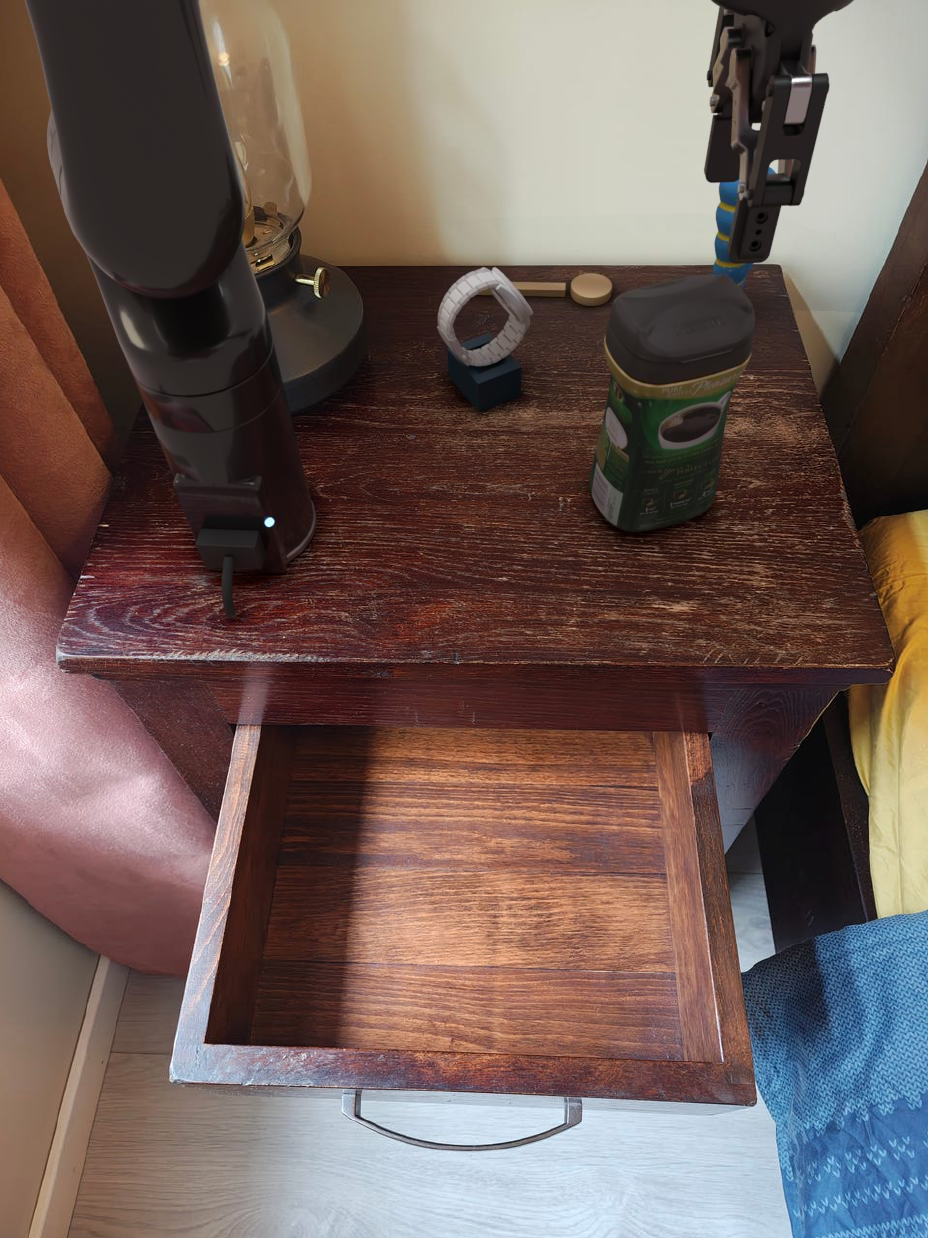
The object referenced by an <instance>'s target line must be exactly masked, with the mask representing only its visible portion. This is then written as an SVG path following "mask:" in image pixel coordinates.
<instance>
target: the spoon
mask: <svg viewBox="0 0 928 1238" xmlns="http://www.w3.org/2000/svg"><path fill="white" fill-rule="evenodd" d="M511 282H512V284H513V285H514V286H515V287H516V288H517V289H518V291H519V292H520V293H521V295H522V296H523V297H552V298H553V297H554V298H556V297H557V298H565V297H566V292H567V291H566V290H567V289H566V288H567V287H566V286H567V283H566V282H544V281H543V282H537V281H536V282H535V281H534V282H533V281H511ZM569 293H570V295H569V296H570V297H571V299H572V300H573V301H574V302H576V303H577V304H579V305H582V306H586V307H597V306H602V305H603V304H606V303H607V302H608V301H609V300H610V299H611V297H612V293H613V284H612V281H611V280H610V279H609V278H608V277H607V276H604V275H602V274H599V273H593V272H591V273H590V272H589V273H583V274H580V275H577V276H575V277H574V278H573V279H572V280H571V283H570V292H569ZM475 296H493V294H492V293H491V292H490V290H489V289H486V290H483V291H481V292H480V291H479V293H478V294H476V295H475Z"/></svg>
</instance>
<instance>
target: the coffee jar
mask: <svg viewBox="0 0 928 1238" xmlns="http://www.w3.org/2000/svg"><path fill="white" fill-rule="evenodd" d="M608 315H609V319H608V322H607V326H606V331H605V335H604V339H603V351H604V357H605V361H606V364H607V367H608V371H609V372H610V373H609V375H610V376H609V386H608V394H607V399H606V404H605V407H604V413H603V418H602V423H601V426H600V430H599V435H598V437H597V443H596V447H595V450H594V455H593V459H592V464H591V470H590V474H589V491H590V494H591V498H592V500H593V502H594V504H595V506H596V508H597V509H598V511H599V513H600V514H601V516H602V517H603V518H604V519H605V520H606V521H607V522H608V523H609V524H610V525H612V526H613V527H615V528H617V529H619V530H622V531H623V532H629V533H641V532H646V531H654V530H658V529H659V530H660V529H663V528H666V527H670V526H674V525H677V524H680V523H683V522H686V521H689V520H691V519H694V518H696V517H698V516H700V515H702V514H704V513H705V512H707V511H708V510H709V509H710V508H711V507H712V505H713V503H714V501H715V498H716V495H717V490H718V484H719V483H718V482H719V477H720V471H721V460H722V459H721V458H722V452H723V451H722V450H723V443H724V438H725V431H726V425H727V417H728V411H729V407H730V403H731V399H732V396H733V394H734V390H735V388H736V385H737V384H738V381H739V379H740V377H741V376H742V374H743V373H744V371H745V370H746V368H747V366H748V364H749V362H750V359H751V357H752V352H753V345H754V335H755V331H756V317H755V308H754V305H753V304H752V302H751V300H750V299H749V298H748V296H747V295H746V294H745V292H744V291H743V289H742V290H741V289H740V287H739V286H738V285H737V284H736V283H735V282H734V281H733V280H732V279H731V278H730V277H729V276H728V275H726V274H719V275H713V274H699V275H698V274H697V275H691V276H684V277H680V278H675V279H670V280H666V281H662V282H657V283H653V284H649V285H645V286H642V287H638V288H633V289H630V290H627V291H625V292H623V293H621V294H619V295H618V296H617V297H616V298H615V299H614V300H613V301H612V304H611V308H610V312H609V314H608Z"/></svg>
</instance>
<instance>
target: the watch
mask: <svg viewBox="0 0 928 1238" xmlns="http://www.w3.org/2000/svg"><path fill="white" fill-rule="evenodd" d="M512 282H513V281H511V279H509V278H508V277H507V276H506V275H505V273H503V272H502V271H501V270H499V269H498V268H497V267H496V266H494V267H492V269H491V270H490V269H488V268H487V267H484V266H483V267H481V268H479V269H476V270H472V271H470V272H468V273H466V274H465V275H463V276H461V277H460V278H459V279H457V280H456V282H454V283H453V284H452V285H451V287H450V288H449V289H448V291H447V292H446V293H445V295H444V297H443V298H442V299H441V302H440V306H439V308H438V313H437V324H438V325H437V326H436V328H437V331H438V333H439V335H440V337H441V339H442V341H443V342H444V343H445V344H446V346H447V347H448V348H447V367H448V378H449V379H450V380H451V382H453V384H454V385H455V387H457V388H458V390H459V391H460V392H461V393H462V394H463V395H464V396H465V398H466V399H467V401H468V402H470V404H471V405H472V406H473V407H474V409H475V410H476V411H477V412H478V413H481V412H482V411H483V412H484V411H486V410H488V409H491V408H493V407H496V406H498V405H500V404H503V403H506V402H508V401H511V400H513V399H516V398H519V397H521V396H522V375H523V374H522V371H523V370H522V369H523V367H522V365H521V364H520V363H519V362H518V361H517V360H516V359H515V358H514V357H513V356H512V355H511V352H513V351H514V350H515V349H516V348H517V347H518V345H519V343H520V342H521V341H522V340H523V338H524V336H525V333H526V332H527V330H528V329H529V328H530V326H531V318H530V317H531V316H532V315H533V314H534V312H533V309H532V308H531V306H530V304H529V303H528V300H526V298H525V296H522V295H521V293H520V292H519V291H518V289H517V288H516V287H515V286H514V285H513V284H512ZM486 289H489V290H490V292H491V293H492V294H493V295H492V296H493V297H494V298H495V299H496V301H497V302H498V303H499V304H500V306H501V307H502V308H503V309H504V310H505V311H506V312H507V313H508V315H509V316H508V320H507V321H506V323H505V325H504V326H503V329H502V330H501V331H500V332H499V333H498V335H497V336H496V337H494V335H493V334H491V332H488V333H485V334H483V335H479V336H477V337H474V338H472V339H469V340H466V341H464V342H460V341H459V339H458V338H457V337H456V336H457V335H456V333H455V328H454V323H455V320H456V318H457V315H458V314H459V313H460V311H461V309H462V308H463V306H465V305H466V304H467V303H468V302H469V301H470V300H471V298H474V297H475V296H477V295H476V294H478V293H479V291H480V292H481V291H483V290H486Z"/></svg>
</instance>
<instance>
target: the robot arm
mask: <svg viewBox="0 0 928 1238" xmlns="http://www.w3.org/2000/svg"><path fill="white" fill-rule="evenodd" d="M710 1H711V2H712V3H713V4H714V5H716V6H718V13H717V17H716V19H717V20H716V24H715V31H714V37H713V43H712V48H711V55H710V61H709V67H708V70H707V72H706V81H707V86H708V88H712V92H711V96H710V97H709V108H710V112H711V114H712V120H711V125H710V131H709V137H708V143H707V149H706V155H705V161H704V168H703V173H704V177H705V180H706V181H707V182H708V183H710V184H720V183H722V182H735V181H737V180H739V184H738V197H737V202H736V207H735V212H734V217H733V222H732V227H731V232H730V237H729V242H728V247H727V253H728V256H729V260H730V261H731V262H732V263H734V264H743V263H754V264H760V263H763V262H765V261H767V260H768V259H769V257H770V255H771V250H772V246H773V242H774V238H775V235H776V230H777V226H778V222H779V219H780V214H781V209H782V207H785V206H786V207H796V206H798V207H799V206H800V205H801V203H802V201H803V198H804V196H805V191H806V190H805V189H806V186H807V181H808V177H809V173H810V168H811V165H812V160H813V156H814V151H815V147H816V144H817V140H818V134H819V131H820V126H821V123H822V118H823V114H824V109H825V105H826V101H827V96H828V94H829V91H830V77H829V74H828V73H827V72H816V66H817V63H816V62H817V46H816V44H813V41H814V40H813V38H814V33H813V30H814V29H815V27H816V24H818V22H820V21H821V20H822V19H823V18H825V17H826V16H828V15H830V14H832V13H834V12H839V11H841V10H843V9H845V8H846V7H848V6H849V5H850V4H852V3H853V2H854V1H855V0H710ZM24 4H25V7H26V10H27V13H28V17H29V20H30V23H31V27H32V30H33V35H34V38H35V41H36V46H37V48H38V49H37V50H38V53H39V58H40V63H41V67H42V71H43V75H44V76H43V77H44V81H45V86H46V91H47V95H48V101H49V104H50V110H51V111H50V114H49V118H48V123H47V129H46V133H47V134H46V135H47V136H46V146H47V152H48V154H47V155H48V159H49V163H50V167H51V170H52V173H53V176H54V181H55V184H56V187H57V188H56V189H57V191H58V194H59V198H60V202H61V204H62V205H61V206H62V207H63V211H64V215H65V217H66V220H67V223H68V224H69V227H70V229H71V232H72V234H73V235H74V237H75V239H76V240H77V242H78V243H79V245H80V247H81V248H82V250H83V251H84V252H85V254H86V257H87V260H88V262H89V264H90V267H91V269H92V272H93V275H94V277H95V280H96V282H97V286H98V289H99V291H100V294H101V296H102V300H103V302H104V305H105V307H106V308H105V309H106V311H107V314H108V316H109V319H110V321H111V324H112V327H113V330H114V332H115V335H116V338H117V342H118V344H119V346H120V348H121V351H122V353H123V355H124V358H125V360H126V363H127V365H128V368H129V371H130V373H131V374H132V376H133V379H134V381H135V384H136V387H137V389H138V391H139V394H140V397H141V399H142V400H143V405H144V407H145V409H146V412H147V414H148V417H149V420H150V421H151V424H152V427H153V430H154V432H155V434H156V437H157V439H158V442H159V444H160V447H161V449H162V452H163V454H164V457H165V459H166V463H167V464H168V467H169V469H170V472H171V474H172V477H173V482H172V487H173V490H174V492H175V495H176V497H177V500H178V503H179V504H180V507H181V510H182V512H183V515H184V517H185V519H186V522H187V525H188V527H189V529H190V532H191V534H192V537H193V539H194V542H195V547H196V549H197V552H198V554H199V557H200V558H201V559H200V560H201V561H202V564H203V566H204V567H205V568H206V570H207V571H211V572H213V571H214V572H215V571H216V572H218V571H219V572H221V585H220V587H221V588H220V589H221V599H222V605H223V610H224V613H225V616H227V617H233V616H235V615H236V614H237V612H236V606H235V603H234V602H235V601H234V596H233V581H234V580H233V578H234V573H235V572H237V573H261V574H262V573H263V574H285V572H286V571H287V567H288V564H289V562H290V561H292V560H293V559H296V557H298V556H299V555H301V553H302V552H303V551H304V550H305V549H306V548H307V547H308V546H309V544H310V543H311V541H312V539H313V537H314V536H315V533H316V530H317V523H318V522H317V520H318V519H317V513H316V509H315V505H314V502H313V500H312V498H311V493H310V489H309V485H308V481H307V477H306V473H305V468H304V465H303V460H302V456H301V452H300V447H299V444H298V439H297V434H296V431H295V428H294V423H293V418H292V414H291V410H290V406H289V402H288V398H287V393H286V390H285V386H284V382H283V376H282V373H281V372H282V371H281V369H280V364H279V359H278V355H277V351H276V348H275V347H276V346H275V343H274V337H273V332H272V329H271V324H270V322H269V316H268V311H267V308H266V303H265V301H264V298H263V295H262V293H261V289H260V287H259V284H258V281H257V278H256V276H255V272H254V269H253V266H252V262H251V260H250V257H249V254H248V251H247V248H246V244H245V242H244V237H243V235H244V231H245V225H246V214H247V199H246V198H247V197H246V191H245V187H244V184H243V179H242V176H241V173H240V168H239V165H238V161H237V158H236V153H235V150H234V147H233V142H232V138H231V134H230V132H229V128H228V123H227V120H226V116H225V112H224V107H223V103H222V99H221V95H220V91H219V86H218V83H217V78H216V74H215V70H214V65H213V61H212V56H211V53H210V48H209V44H208V38H207V34H206V29H205V24H204V19H203V18H204V17H203V14H202V8H201V2H200V0H24ZM753 124H760V126H759V129H754V128H753ZM775 161H777V173H775V174H768V170H769V167H771V163H773V162H775Z"/></svg>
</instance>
